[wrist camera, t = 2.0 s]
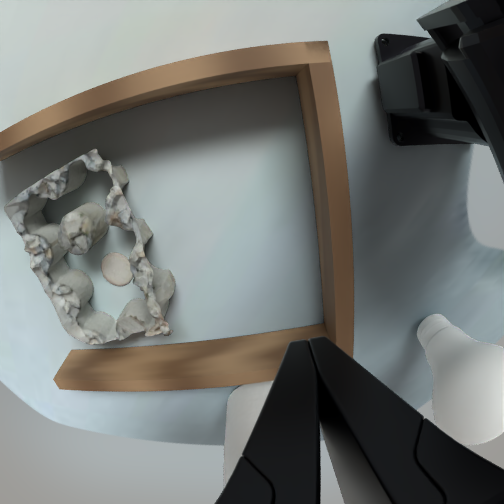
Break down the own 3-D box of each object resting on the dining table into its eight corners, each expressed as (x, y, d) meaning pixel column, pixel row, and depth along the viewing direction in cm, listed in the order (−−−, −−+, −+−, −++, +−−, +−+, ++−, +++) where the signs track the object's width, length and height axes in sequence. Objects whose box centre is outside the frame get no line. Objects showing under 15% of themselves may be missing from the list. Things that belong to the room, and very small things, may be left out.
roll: (333, 524, 11) (321, 545, 13) (303, 374, 22) (301, 419, 24) (213, 532, 11) (227, 551, 13) (222, 380, 22) (230, 424, 24)
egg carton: (190, 302, 20) (179, 343, 16) (96, 325, 20) (74, 361, 17) (126, 139, 16) (94, 144, 12) (31, 186, 16) (-8, 204, 13)
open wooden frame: (311, 57, 14) (327, 40, 11) (338, 331, 20) (352, 366, 17) (-1, 146, 15) (-35, 154, 12) (76, 359, 21) (59, 389, 18)
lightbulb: (422, 362, 22) (480, 465, 12) (374, 338, 21) (436, 464, 11) (470, 305, 20) (551, 396, 10) (429, 271, 19) (529, 377, 9)
